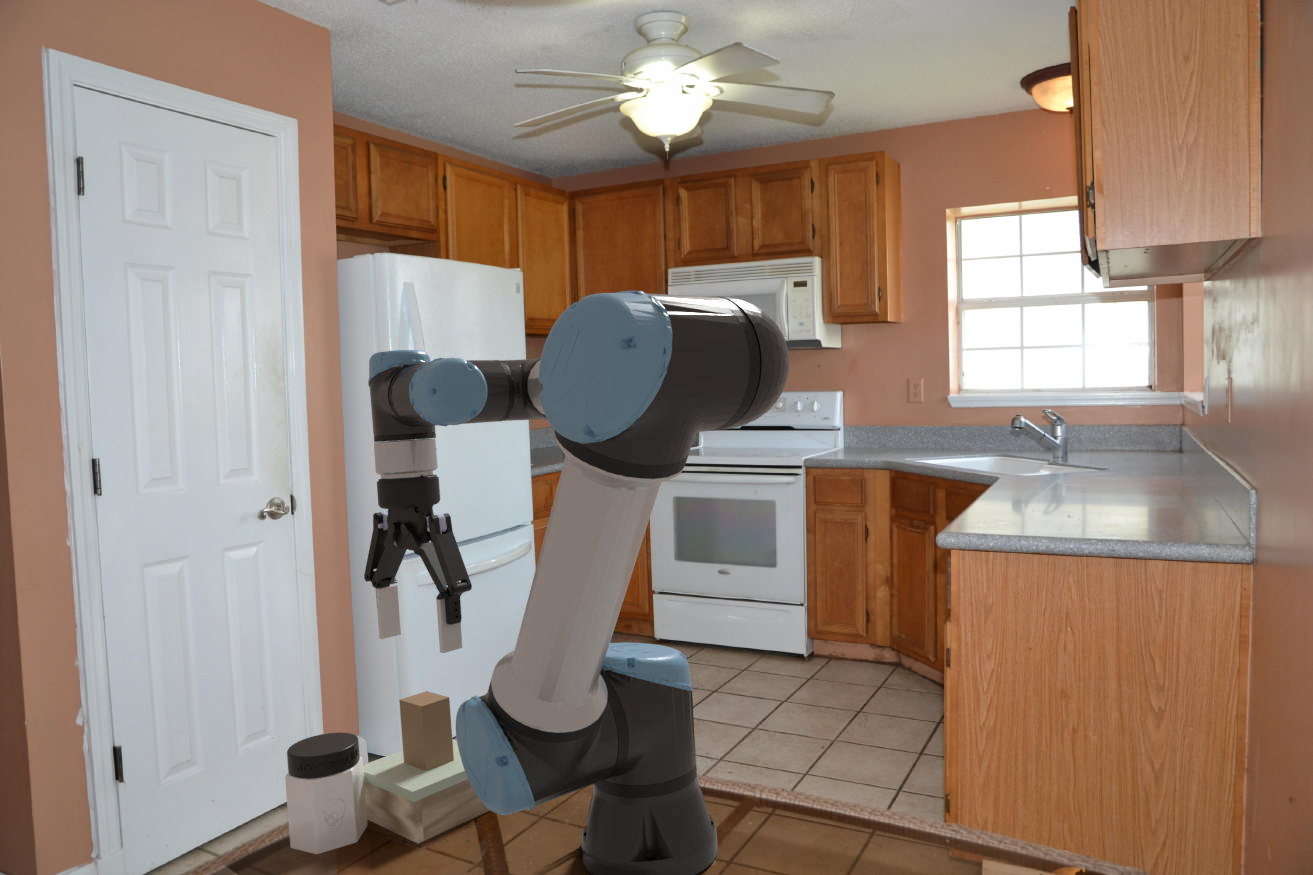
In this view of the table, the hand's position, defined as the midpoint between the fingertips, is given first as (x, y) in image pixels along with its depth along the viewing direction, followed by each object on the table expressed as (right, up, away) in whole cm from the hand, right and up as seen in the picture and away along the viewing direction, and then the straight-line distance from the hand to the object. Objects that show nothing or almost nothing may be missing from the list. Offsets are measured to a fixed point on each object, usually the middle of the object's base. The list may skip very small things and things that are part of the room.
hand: (419, 643), depth 112 cm
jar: (-10, -23, -4) cm, 25 cm away
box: (+2, -22, 0) cm, 22 cm away
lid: (+1, -16, 0) cm, 16 cm away
